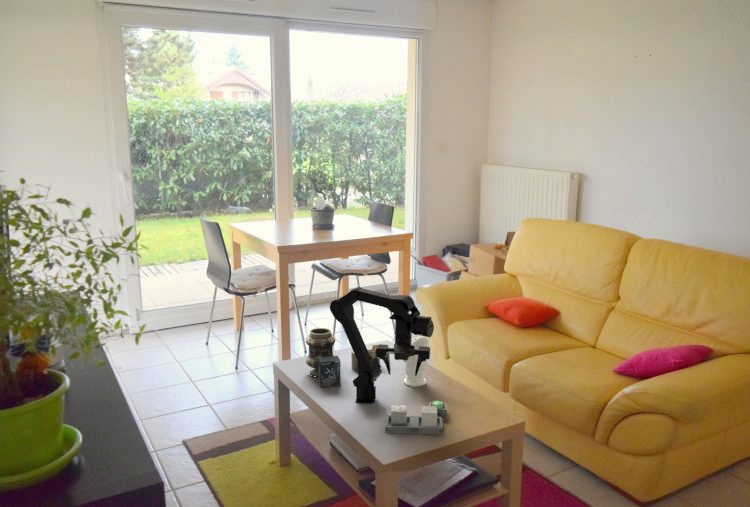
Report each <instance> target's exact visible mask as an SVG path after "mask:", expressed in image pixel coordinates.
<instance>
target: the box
mask: <svg viewBox="0 0 750 507" xmlns="http://www.w3.org/2000/svg"><path fill="white" fill-rule="evenodd" d="M318 366H319V367H318V368H319V378H318V384H320V385H319V387H320V388H321V387H323V388H329V387H328V386H334V387H341V360H340V357H339V355H334V356H330V357H318Z"/></svg>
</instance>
